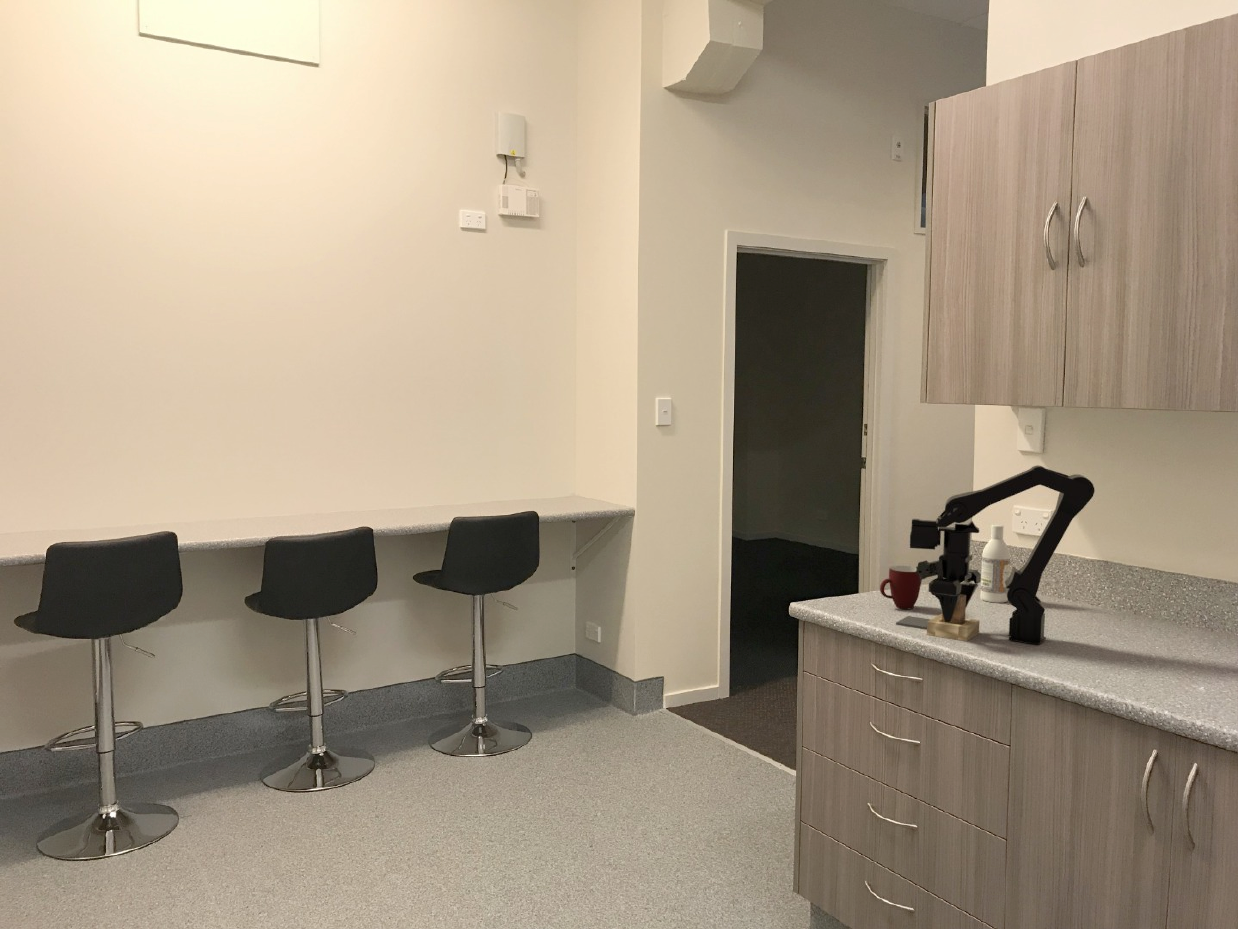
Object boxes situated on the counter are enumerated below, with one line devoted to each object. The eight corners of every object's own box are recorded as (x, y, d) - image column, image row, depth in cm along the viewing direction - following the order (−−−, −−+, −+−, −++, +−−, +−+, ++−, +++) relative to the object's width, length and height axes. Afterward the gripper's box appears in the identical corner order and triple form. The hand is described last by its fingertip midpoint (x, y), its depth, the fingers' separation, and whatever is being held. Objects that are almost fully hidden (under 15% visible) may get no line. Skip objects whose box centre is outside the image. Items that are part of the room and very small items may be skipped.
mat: (940, 623, 235) (940, 621, 235) (929, 629, 229) (929, 627, 228) (908, 617, 240) (908, 615, 240) (896, 624, 233) (896, 622, 233)
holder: (979, 633, 226) (979, 620, 226) (966, 641, 219) (967, 628, 219) (940, 626, 232) (940, 614, 231) (926, 634, 224) (927, 621, 224)
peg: (964, 633, 226) (966, 595, 225) (958, 637, 222) (960, 598, 222) (947, 630, 228) (948, 592, 227) (941, 634, 225) (942, 595, 224)
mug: (890, 612, 245) (891, 573, 244) (873, 605, 253) (874, 567, 252) (927, 610, 248) (928, 571, 247) (909, 603, 255) (910, 565, 254)
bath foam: (1001, 604, 254) (1004, 528, 253) (975, 600, 259) (978, 525, 258) (1012, 600, 259) (1016, 525, 257) (987, 596, 264) (990, 522, 262)
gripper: (935, 541, 236) (932, 605, 237) (907, 552, 221) (904, 620, 222) (982, 546, 229) (979, 612, 231) (956, 558, 214) (954, 628, 216)
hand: (953, 618), depth 225 cm, fingers open, 9 cm apart
